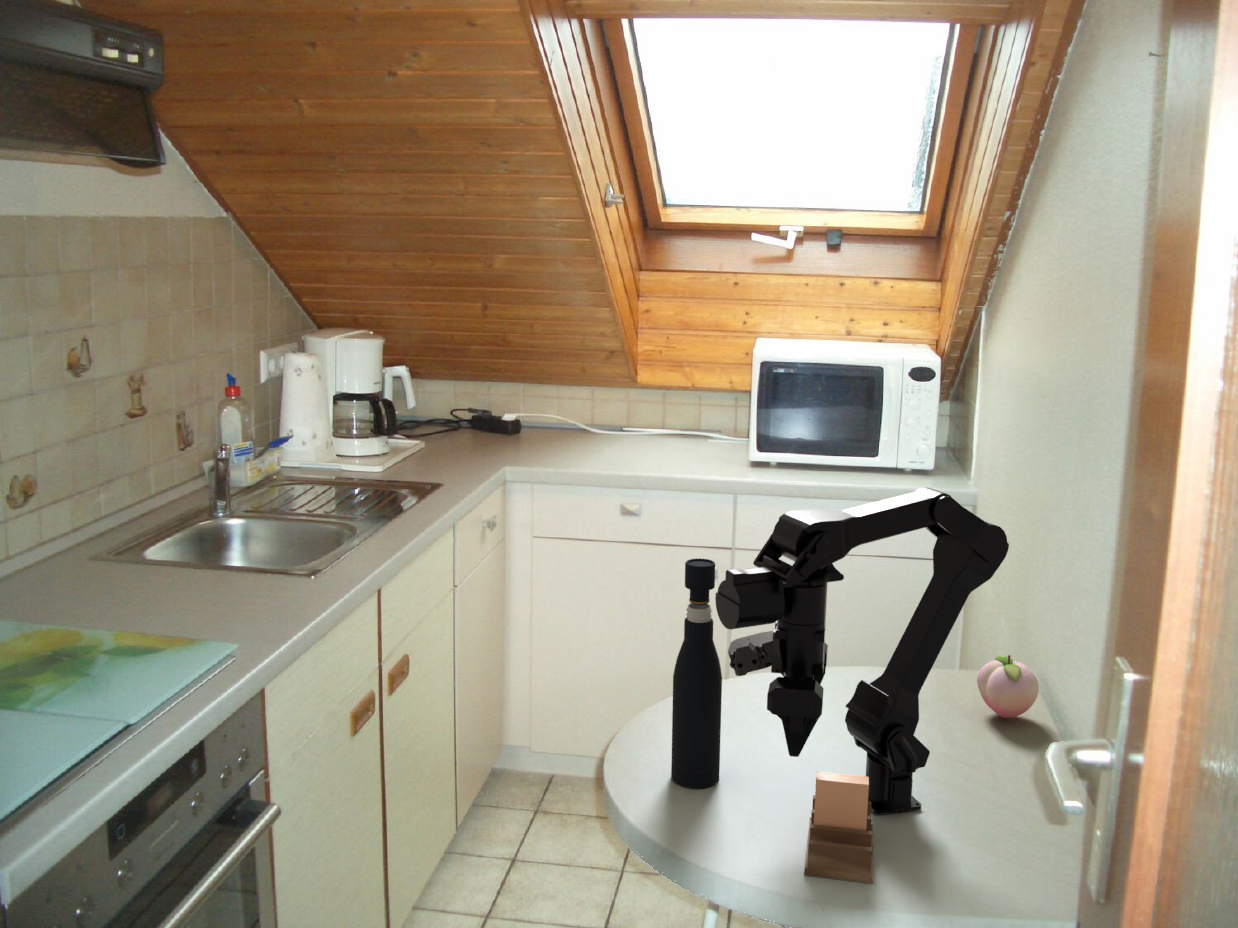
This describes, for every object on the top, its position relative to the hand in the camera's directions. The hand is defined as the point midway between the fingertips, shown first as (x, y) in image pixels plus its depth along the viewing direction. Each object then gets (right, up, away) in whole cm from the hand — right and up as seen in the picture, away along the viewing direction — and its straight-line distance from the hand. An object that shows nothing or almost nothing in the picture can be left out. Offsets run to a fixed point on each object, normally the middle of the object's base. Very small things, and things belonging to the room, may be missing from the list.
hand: (796, 739), depth 139 cm
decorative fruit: (+37, -5, +33) cm, 50 cm away
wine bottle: (-11, -9, +13) cm, 20 cm away
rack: (+4, -12, -5) cm, 14 cm away
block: (+4, -11, -5) cm, 13 cm away
